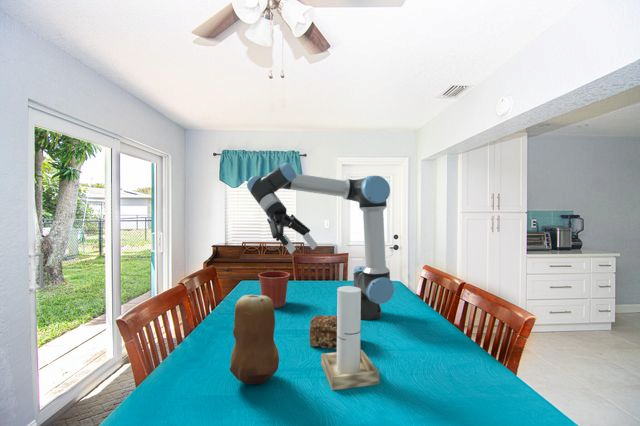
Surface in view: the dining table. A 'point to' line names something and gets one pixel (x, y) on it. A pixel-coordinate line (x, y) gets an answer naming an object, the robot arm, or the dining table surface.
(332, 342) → the bread
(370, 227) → the robot arm
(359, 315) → the cylindrical container
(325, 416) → the dining table surface
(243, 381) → the butternut squash
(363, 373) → the holder tray
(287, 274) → the flower pot
